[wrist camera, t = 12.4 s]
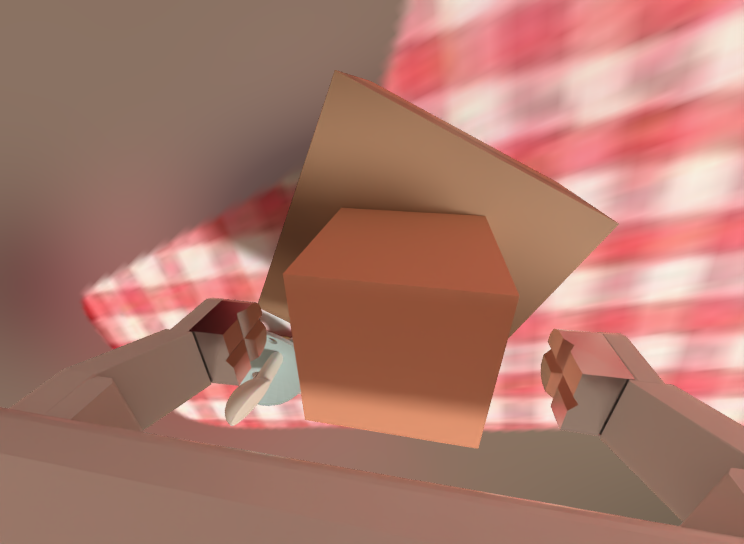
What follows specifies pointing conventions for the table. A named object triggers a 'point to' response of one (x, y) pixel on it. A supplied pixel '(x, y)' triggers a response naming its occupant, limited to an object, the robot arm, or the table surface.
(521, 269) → the walnut block
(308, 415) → the terracotta cube
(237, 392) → the pacifier
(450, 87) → the table surface
